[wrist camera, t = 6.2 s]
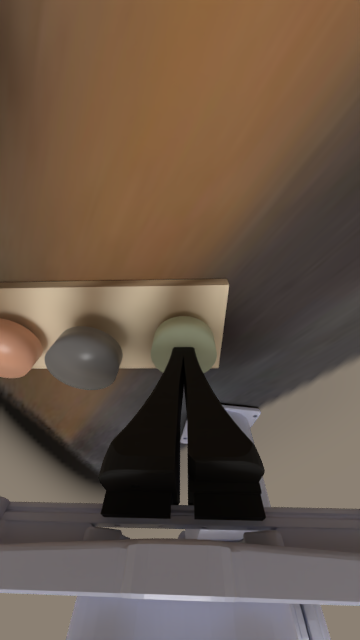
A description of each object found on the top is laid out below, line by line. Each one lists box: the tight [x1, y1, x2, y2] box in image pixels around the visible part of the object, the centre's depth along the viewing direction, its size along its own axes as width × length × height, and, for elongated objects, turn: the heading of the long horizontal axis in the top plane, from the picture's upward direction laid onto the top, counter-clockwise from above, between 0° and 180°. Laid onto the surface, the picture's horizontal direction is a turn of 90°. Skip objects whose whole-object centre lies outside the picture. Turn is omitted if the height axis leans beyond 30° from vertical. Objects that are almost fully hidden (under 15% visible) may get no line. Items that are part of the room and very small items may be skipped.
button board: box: [0, 279, 229, 368], centre depth 16 cm, size 19×8×1 cm, turn 91°
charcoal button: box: [45, 326, 123, 390], centre depth 13 cm, size 4×4×2 cm
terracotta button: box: [0, 318, 43, 378], centre depth 14 cm, size 4×4×2 cm
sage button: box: [151, 316, 217, 373], centre depth 14 cm, size 4×4×2 cm
